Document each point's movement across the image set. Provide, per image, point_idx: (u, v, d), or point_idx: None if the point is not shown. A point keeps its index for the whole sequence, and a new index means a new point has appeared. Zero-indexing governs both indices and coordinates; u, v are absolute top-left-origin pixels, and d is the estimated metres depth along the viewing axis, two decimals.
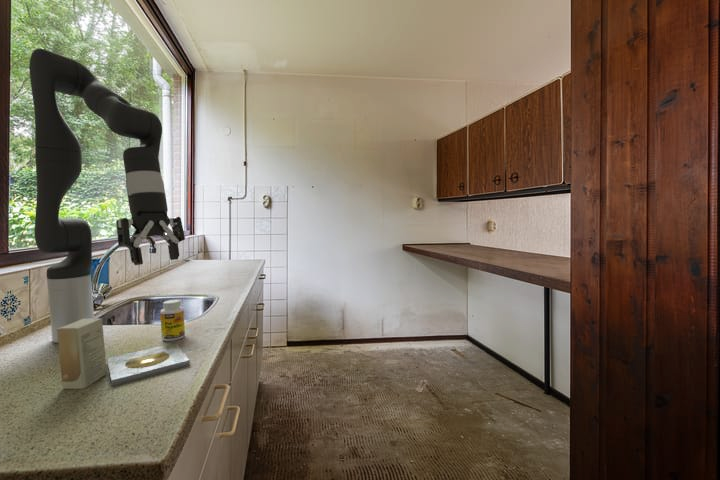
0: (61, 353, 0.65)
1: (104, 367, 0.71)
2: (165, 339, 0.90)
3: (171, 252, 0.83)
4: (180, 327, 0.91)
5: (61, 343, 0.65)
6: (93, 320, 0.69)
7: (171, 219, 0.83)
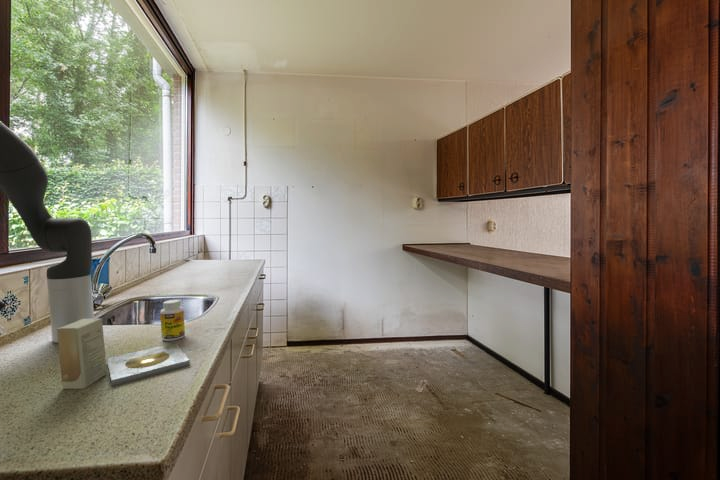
0: (61, 353, 0.65)
1: (104, 367, 0.71)
2: (165, 339, 0.90)
3: None
4: (180, 327, 0.91)
5: (61, 343, 0.65)
6: (93, 320, 0.69)
7: None
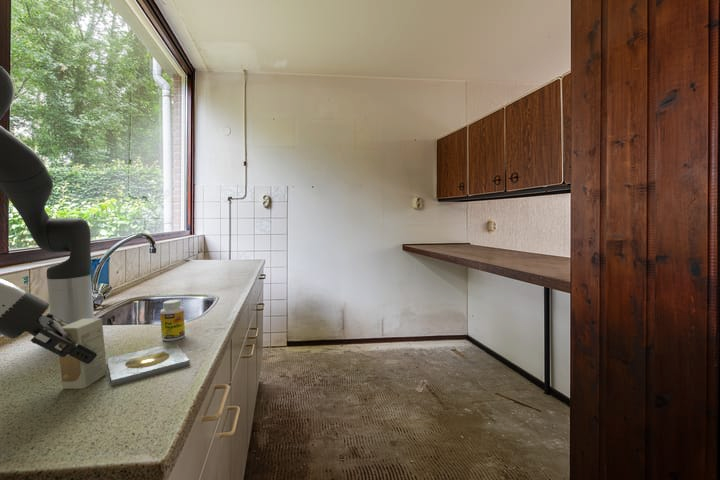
0: None
1: (104, 367, 0.71)
2: (165, 339, 0.90)
3: None
4: (180, 327, 0.91)
5: None
6: (93, 320, 0.69)
7: None
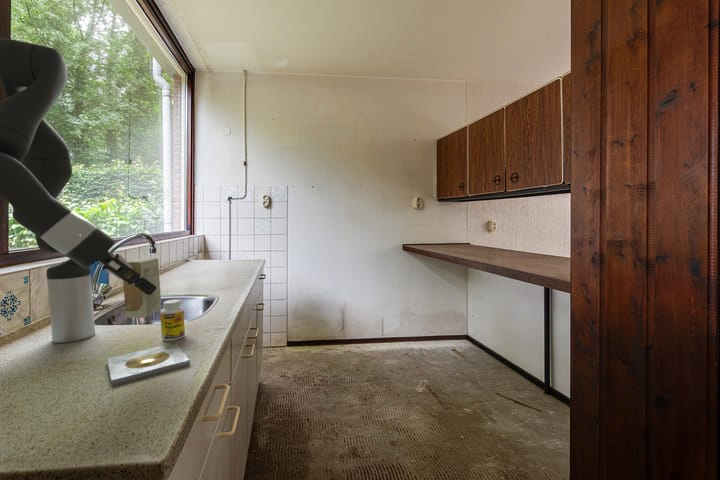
0: (125, 285, 0.72)
1: (159, 303, 0.78)
2: (165, 339, 0.90)
3: None
4: (180, 327, 0.91)
5: None
6: (151, 258, 0.76)
7: None
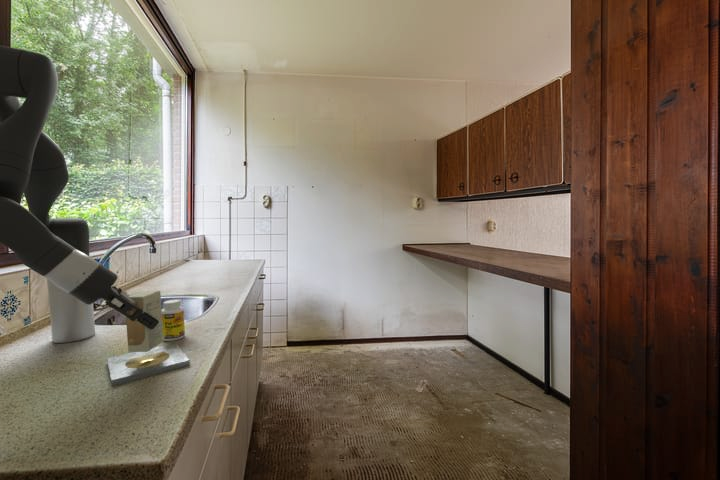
0: (128, 319, 0.72)
1: (161, 335, 0.78)
2: (165, 339, 0.90)
3: None
4: (180, 327, 0.91)
5: None
6: (153, 291, 0.76)
7: None
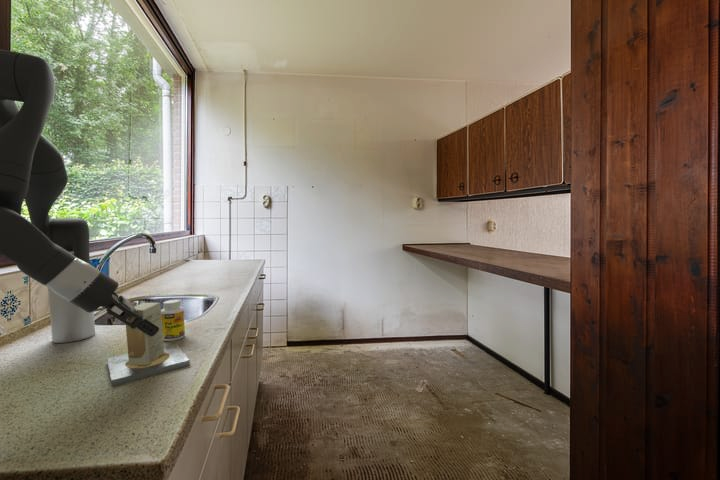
0: (128, 332, 0.72)
1: (162, 346, 0.78)
2: (165, 339, 0.90)
3: None
4: (180, 327, 0.91)
5: None
6: (153, 304, 0.76)
7: None
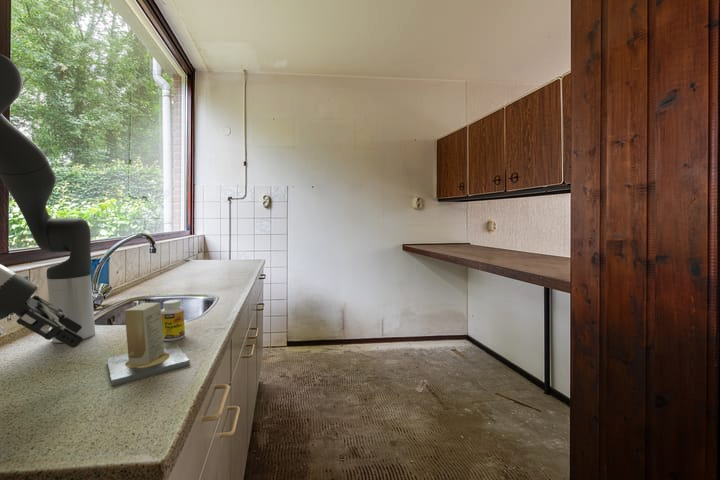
0: (128, 332, 0.72)
1: (162, 346, 0.78)
2: (165, 339, 0.90)
3: None
4: (180, 327, 0.91)
5: (128, 323, 0.72)
6: (153, 304, 0.76)
7: None
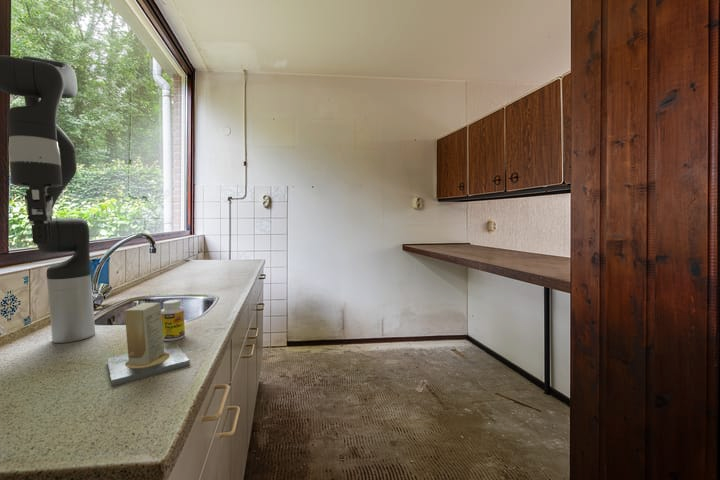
0: (128, 332, 0.72)
1: (162, 346, 0.78)
2: (165, 339, 0.90)
3: None
4: (180, 327, 0.91)
5: (128, 323, 0.72)
6: (153, 304, 0.76)
7: None
